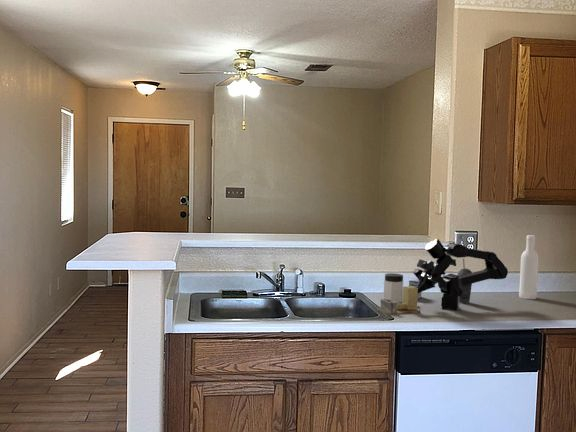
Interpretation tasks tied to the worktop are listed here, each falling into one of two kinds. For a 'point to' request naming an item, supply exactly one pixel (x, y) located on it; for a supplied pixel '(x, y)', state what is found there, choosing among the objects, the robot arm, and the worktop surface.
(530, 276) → the bottle
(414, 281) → the medicine box
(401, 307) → the tan rectangular block
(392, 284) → the lidded container
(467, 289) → the beverage cup
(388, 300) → the board
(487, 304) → the worktop surface
